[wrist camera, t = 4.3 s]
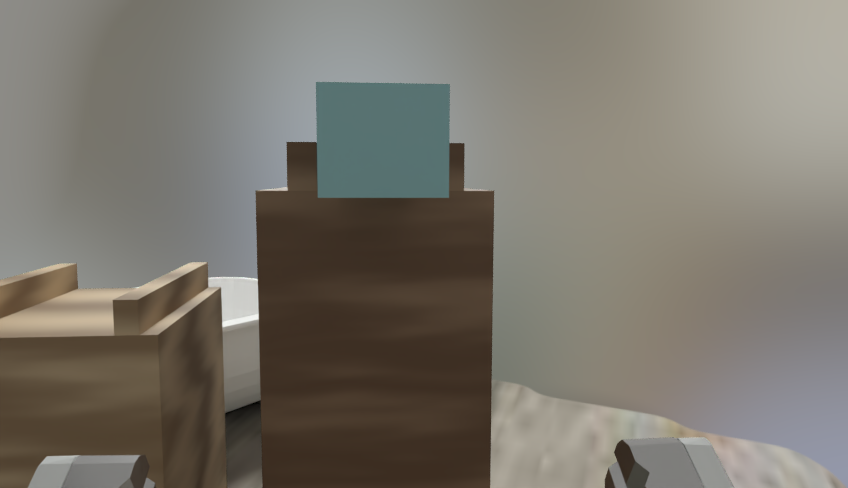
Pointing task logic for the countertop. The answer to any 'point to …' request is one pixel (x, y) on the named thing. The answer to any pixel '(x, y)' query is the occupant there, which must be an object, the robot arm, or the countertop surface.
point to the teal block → (382, 140)
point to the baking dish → (239, 340)
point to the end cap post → (374, 334)
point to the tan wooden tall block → (113, 374)
